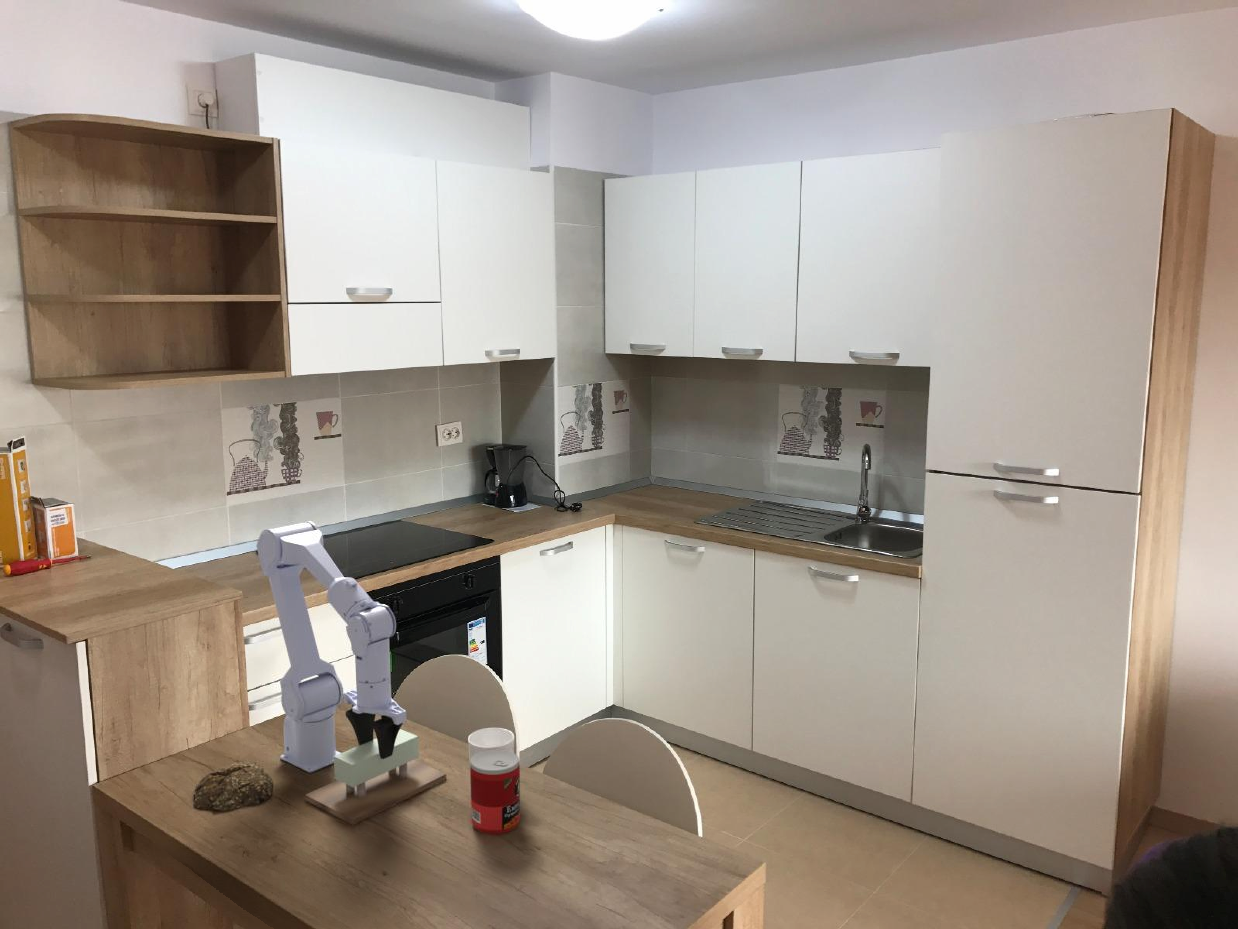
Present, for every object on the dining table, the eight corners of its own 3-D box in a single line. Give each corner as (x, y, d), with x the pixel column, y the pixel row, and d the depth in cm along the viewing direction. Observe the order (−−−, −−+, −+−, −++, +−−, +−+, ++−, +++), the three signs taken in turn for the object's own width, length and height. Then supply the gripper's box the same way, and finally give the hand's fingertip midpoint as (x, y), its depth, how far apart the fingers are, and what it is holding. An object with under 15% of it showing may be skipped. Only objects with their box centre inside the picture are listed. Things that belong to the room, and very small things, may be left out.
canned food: (512, 838, 156) (511, 773, 154) (464, 832, 158) (462, 768, 156) (526, 813, 163) (525, 751, 162) (480, 808, 165) (479, 747, 163)
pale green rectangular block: (400, 749, 178) (399, 728, 177) (418, 757, 175) (417, 736, 174) (334, 778, 167) (333, 756, 166) (353, 787, 164) (352, 764, 163)
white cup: (492, 807, 165) (491, 751, 164) (459, 793, 170) (458, 739, 168) (524, 789, 172) (523, 735, 170) (491, 776, 176) (490, 723, 175)
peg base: (305, 800, 168) (304, 778, 167) (398, 758, 183) (398, 738, 182) (353, 825, 160) (352, 802, 159) (446, 779, 175) (445, 758, 174)
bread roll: (263, 771, 179) (261, 745, 178) (280, 800, 168) (278, 772, 167) (187, 789, 172) (185, 762, 171) (199, 820, 161) (197, 792, 161)
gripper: (327, 674, 169) (331, 748, 171) (381, 694, 160) (384, 773, 163) (361, 662, 175) (364, 734, 177) (415, 682, 166) (417, 757, 168)
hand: (376, 752), depth 170 cm, fingers closed on pale green rectangular block, 5 cm apart
